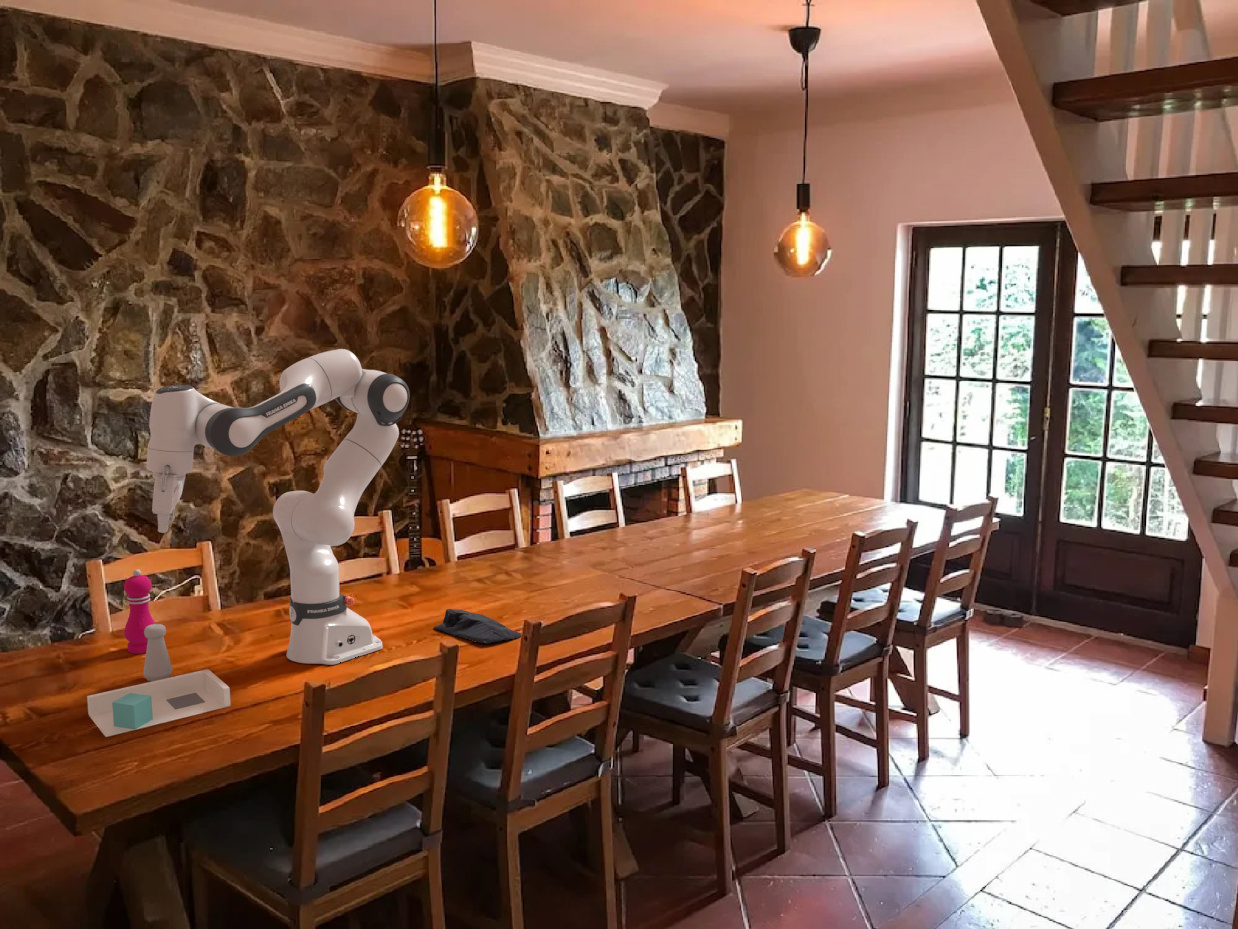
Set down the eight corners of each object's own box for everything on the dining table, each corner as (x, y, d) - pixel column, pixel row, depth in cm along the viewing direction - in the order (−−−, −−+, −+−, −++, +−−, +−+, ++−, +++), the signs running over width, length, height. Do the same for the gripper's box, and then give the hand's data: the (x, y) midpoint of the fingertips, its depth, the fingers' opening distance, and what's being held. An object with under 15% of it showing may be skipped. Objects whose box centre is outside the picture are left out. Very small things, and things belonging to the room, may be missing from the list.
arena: (209, 690, 223) (207, 669, 222) (230, 710, 213) (229, 687, 212) (88, 719, 207) (87, 696, 207) (106, 741, 198) (104, 717, 197)
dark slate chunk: (479, 652, 250) (479, 633, 250) (429, 629, 266) (429, 611, 265) (528, 638, 261) (528, 620, 260) (477, 617, 277) (477, 600, 276)
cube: (131, 716, 207) (130, 692, 206) (152, 719, 206) (151, 695, 205) (113, 726, 202) (112, 702, 201) (135, 729, 201) (133, 705, 200)
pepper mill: (164, 648, 247) (159, 568, 244) (136, 657, 241) (130, 575, 238) (147, 642, 251) (142, 563, 248) (119, 650, 245) (113, 570, 242)
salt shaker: (176, 676, 230) (173, 621, 228) (166, 686, 225) (163, 630, 222) (150, 676, 230) (146, 621, 228) (139, 686, 224) (135, 630, 222)
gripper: (181, 471, 204) (176, 538, 206) (190, 456, 224) (186, 518, 225) (146, 468, 202) (142, 537, 204) (159, 454, 222) (155, 516, 223)
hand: (165, 527), depth 215 cm, fingers open, 8 cm apart
